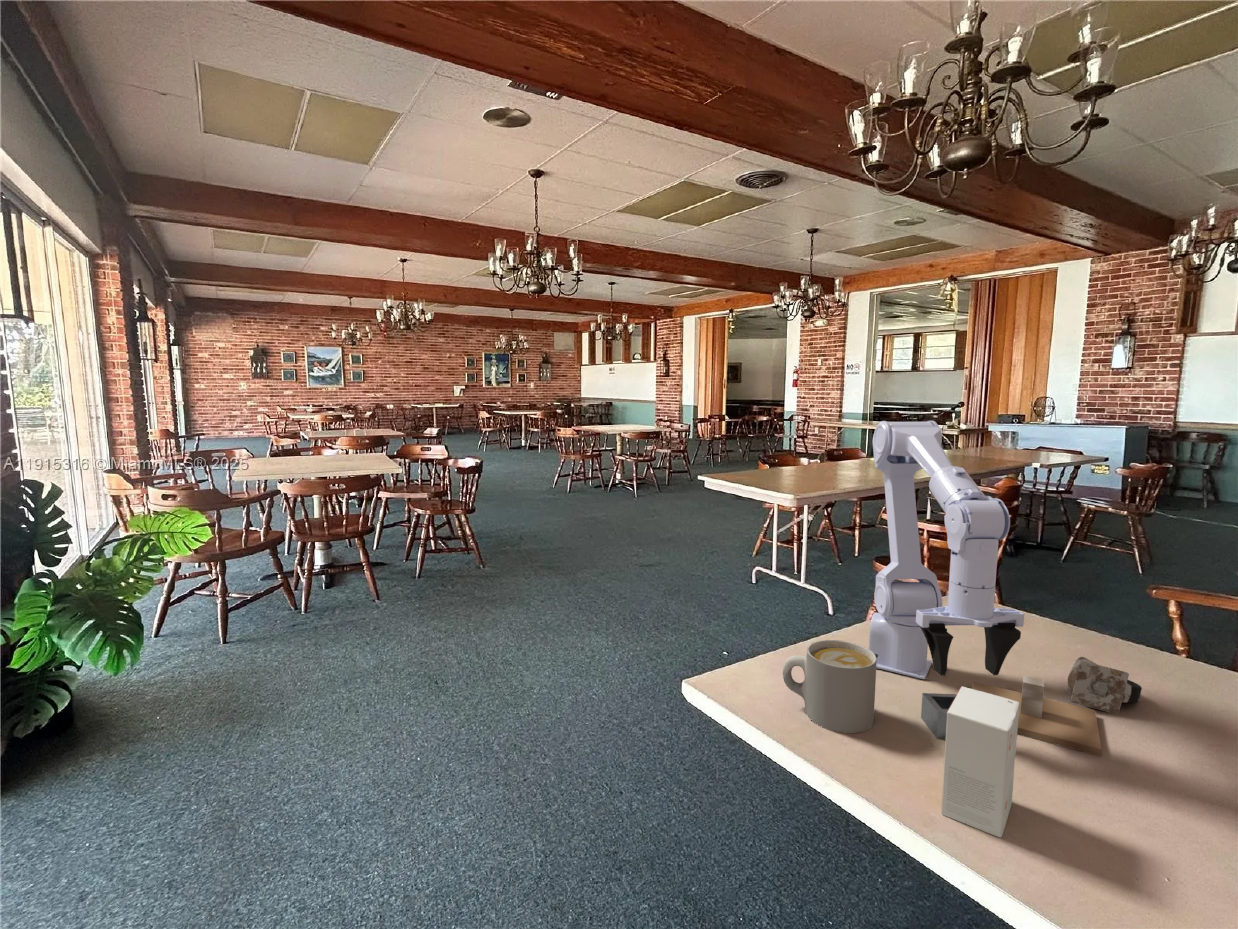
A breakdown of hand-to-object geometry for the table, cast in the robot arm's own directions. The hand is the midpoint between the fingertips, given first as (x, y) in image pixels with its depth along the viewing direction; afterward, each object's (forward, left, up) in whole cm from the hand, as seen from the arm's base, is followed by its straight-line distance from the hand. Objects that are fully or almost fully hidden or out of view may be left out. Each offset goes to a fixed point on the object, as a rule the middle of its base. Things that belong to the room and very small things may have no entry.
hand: (965, 672), depth 88 cm
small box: (+3, -19, -9) cm, 21 cm away
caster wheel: (+17, +22, -9) cm, 29 cm away
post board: (+8, +8, -9) cm, 15 cm away
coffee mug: (-18, -7, -9) cm, 21 cm away
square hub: (-2, -2, -9) cm, 9 cm away
